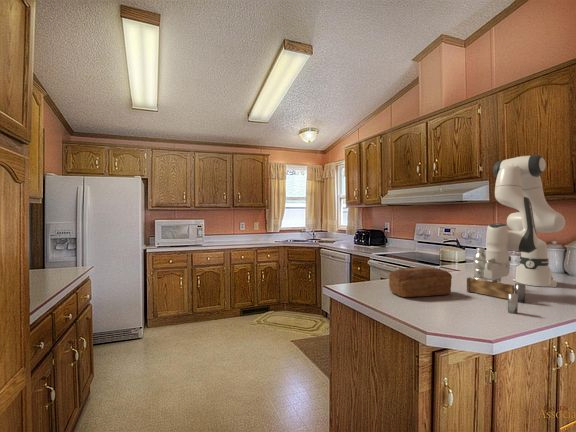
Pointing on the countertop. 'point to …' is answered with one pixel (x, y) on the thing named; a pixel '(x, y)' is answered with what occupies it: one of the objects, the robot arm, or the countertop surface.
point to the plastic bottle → (479, 264)
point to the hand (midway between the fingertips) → (496, 287)
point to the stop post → (512, 303)
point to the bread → (420, 282)
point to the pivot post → (520, 292)
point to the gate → (489, 288)
